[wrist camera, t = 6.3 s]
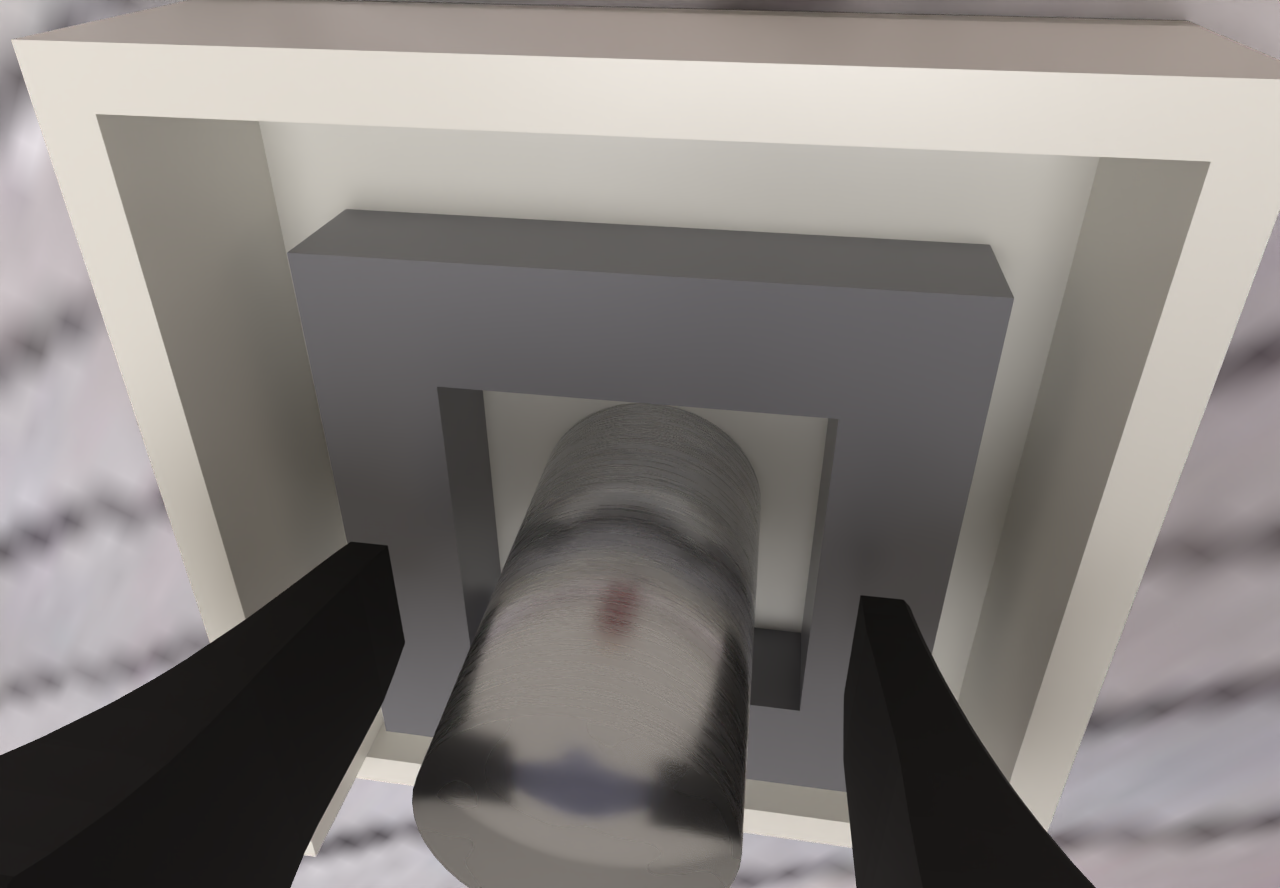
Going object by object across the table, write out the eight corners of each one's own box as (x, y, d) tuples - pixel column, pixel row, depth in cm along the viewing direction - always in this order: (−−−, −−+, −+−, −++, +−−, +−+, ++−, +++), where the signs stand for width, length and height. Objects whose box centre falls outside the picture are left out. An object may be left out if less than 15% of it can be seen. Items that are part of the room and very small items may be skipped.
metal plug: (766, 408, 16) (747, 735, 10) (756, 590, 18) (736, 949, 12) (535, 397, 16) (386, 701, 10) (552, 575, 18) (436, 912, 12)
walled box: (1188, 20, 12) (1328, 80, 9) (961, 803, 21) (990, 985, 17) (202, -3, 14) (10, 39, 11) (365, 724, 23) (286, 875, 19)
